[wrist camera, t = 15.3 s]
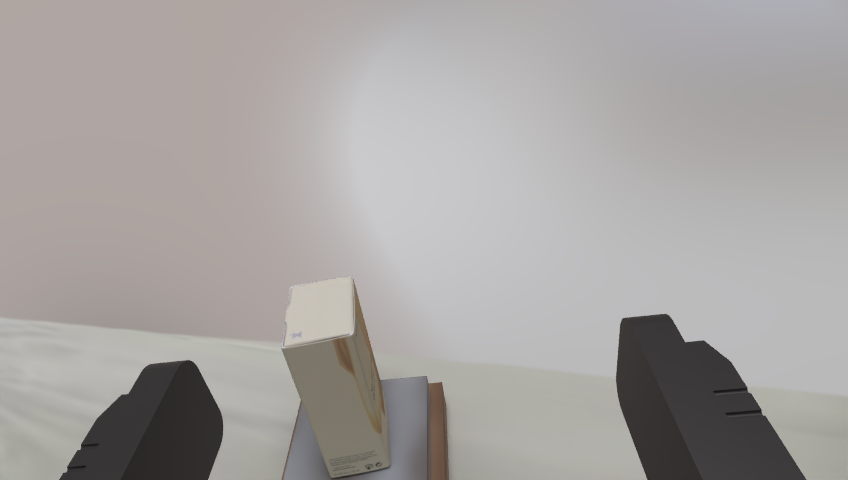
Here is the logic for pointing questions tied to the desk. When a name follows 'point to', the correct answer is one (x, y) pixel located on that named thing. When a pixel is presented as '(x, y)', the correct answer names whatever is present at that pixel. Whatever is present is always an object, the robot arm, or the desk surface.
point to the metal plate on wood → (408, 430)
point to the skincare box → (337, 375)
